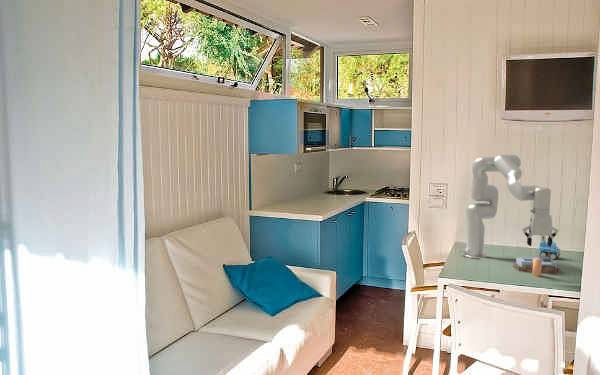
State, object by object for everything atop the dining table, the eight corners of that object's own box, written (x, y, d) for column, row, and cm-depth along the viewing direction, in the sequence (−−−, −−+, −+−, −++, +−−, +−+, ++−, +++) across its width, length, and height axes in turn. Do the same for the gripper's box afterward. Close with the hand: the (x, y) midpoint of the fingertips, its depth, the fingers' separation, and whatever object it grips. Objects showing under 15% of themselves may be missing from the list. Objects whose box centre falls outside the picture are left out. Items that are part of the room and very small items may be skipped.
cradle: (519, 274, 278) (520, 266, 277) (511, 268, 291) (511, 260, 290) (561, 276, 277) (561, 267, 276) (551, 269, 290) (551, 261, 289)
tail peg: (533, 279, 270) (535, 259, 269) (530, 277, 274) (532, 258, 273) (541, 279, 270) (543, 260, 269) (538, 277, 274) (540, 258, 273)
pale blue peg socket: (523, 272, 277) (523, 259, 276) (514, 265, 291) (514, 253, 290) (558, 273, 276) (559, 261, 275) (548, 266, 290) (548, 254, 289)
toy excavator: (531, 253, 327) (533, 225, 325) (561, 258, 316) (563, 229, 314) (527, 255, 320) (529, 227, 318) (557, 260, 310) (559, 231, 308)
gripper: (526, 212, 265) (524, 246, 267) (562, 213, 264) (560, 247, 266) (521, 210, 272) (519, 243, 274) (556, 211, 271) (553, 244, 273)
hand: (539, 245), depth 270 cm, fingers open, 9 cm apart
